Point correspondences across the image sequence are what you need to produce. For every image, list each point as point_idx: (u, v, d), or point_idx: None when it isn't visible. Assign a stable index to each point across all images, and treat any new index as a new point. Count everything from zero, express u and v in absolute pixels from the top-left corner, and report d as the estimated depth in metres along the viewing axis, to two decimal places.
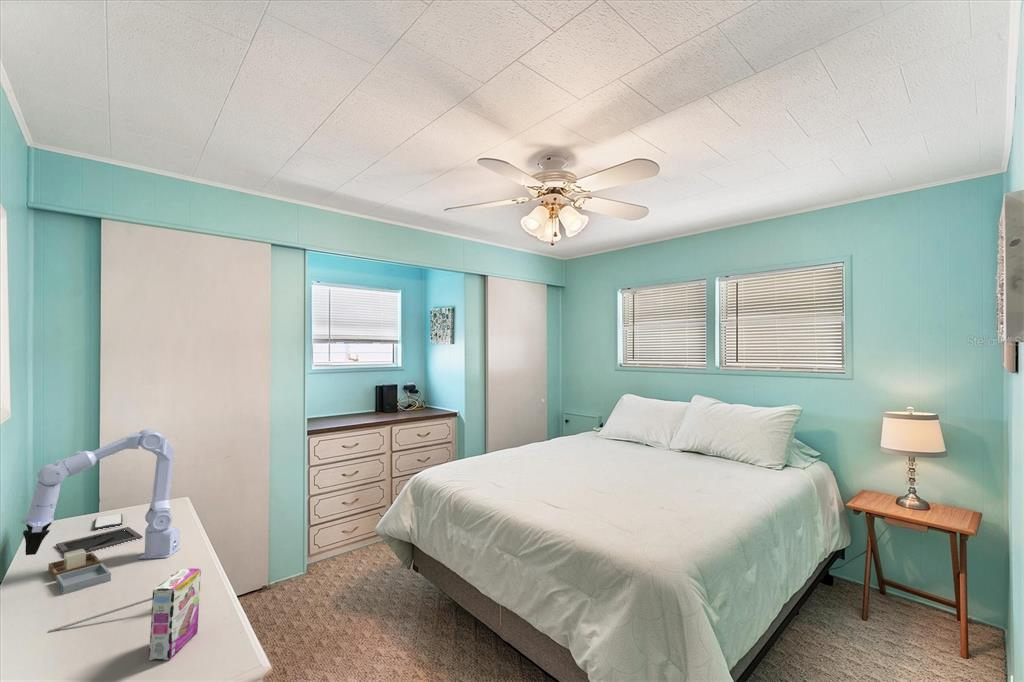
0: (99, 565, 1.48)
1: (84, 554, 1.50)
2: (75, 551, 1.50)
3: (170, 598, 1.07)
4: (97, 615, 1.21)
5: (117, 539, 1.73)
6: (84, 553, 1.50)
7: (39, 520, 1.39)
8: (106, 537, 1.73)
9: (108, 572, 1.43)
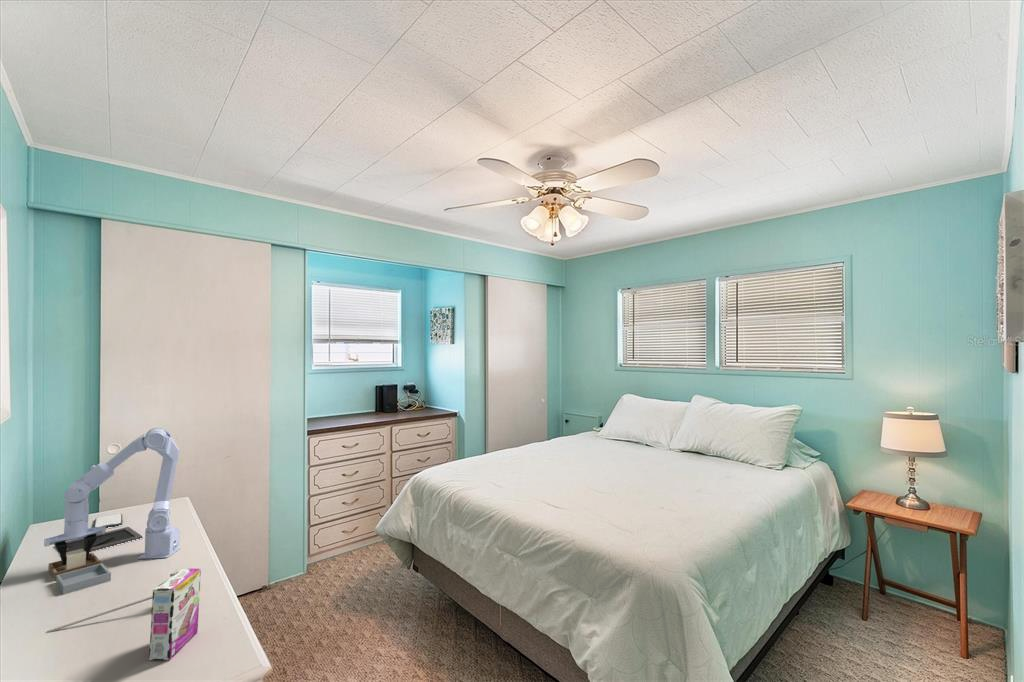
0: (99, 565, 1.48)
1: (84, 554, 1.50)
2: (75, 551, 1.50)
3: (170, 598, 1.07)
4: (96, 615, 1.21)
5: (117, 539, 1.73)
6: (84, 553, 1.50)
7: (64, 534, 1.48)
8: (106, 537, 1.73)
9: (108, 572, 1.43)
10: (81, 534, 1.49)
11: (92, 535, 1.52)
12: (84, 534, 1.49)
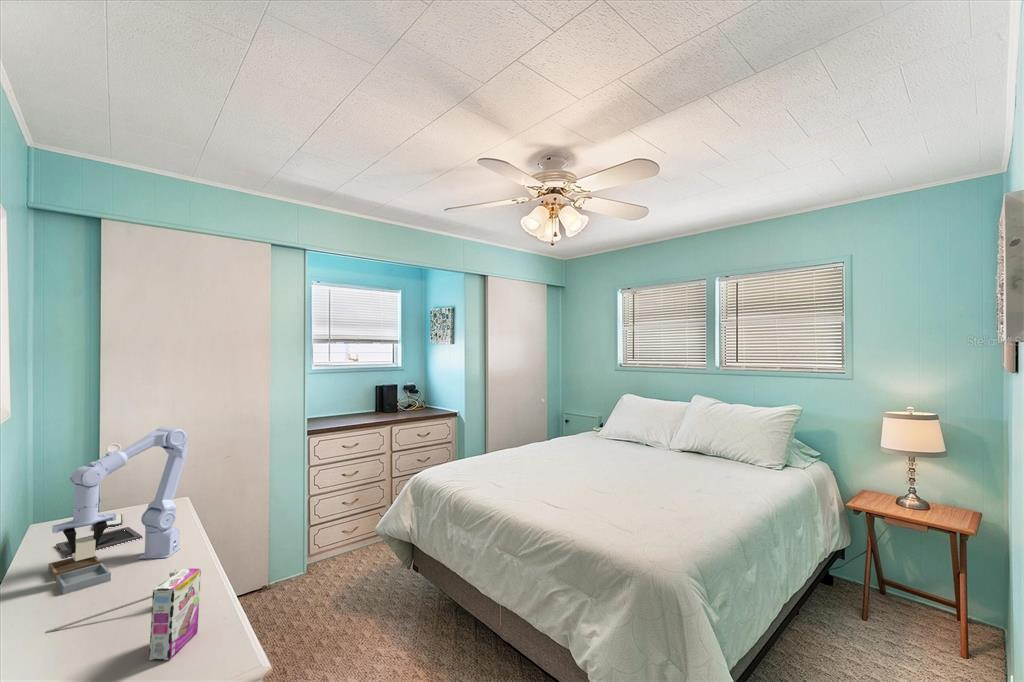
0: (99, 565, 1.48)
1: (94, 542, 1.43)
2: (84, 539, 1.44)
3: (170, 598, 1.07)
4: (95, 614, 1.21)
5: (117, 539, 1.73)
6: (94, 541, 1.43)
7: (73, 521, 1.41)
8: (106, 537, 1.73)
9: (108, 572, 1.43)
10: (91, 521, 1.42)
11: (102, 522, 1.45)
12: (94, 521, 1.42)
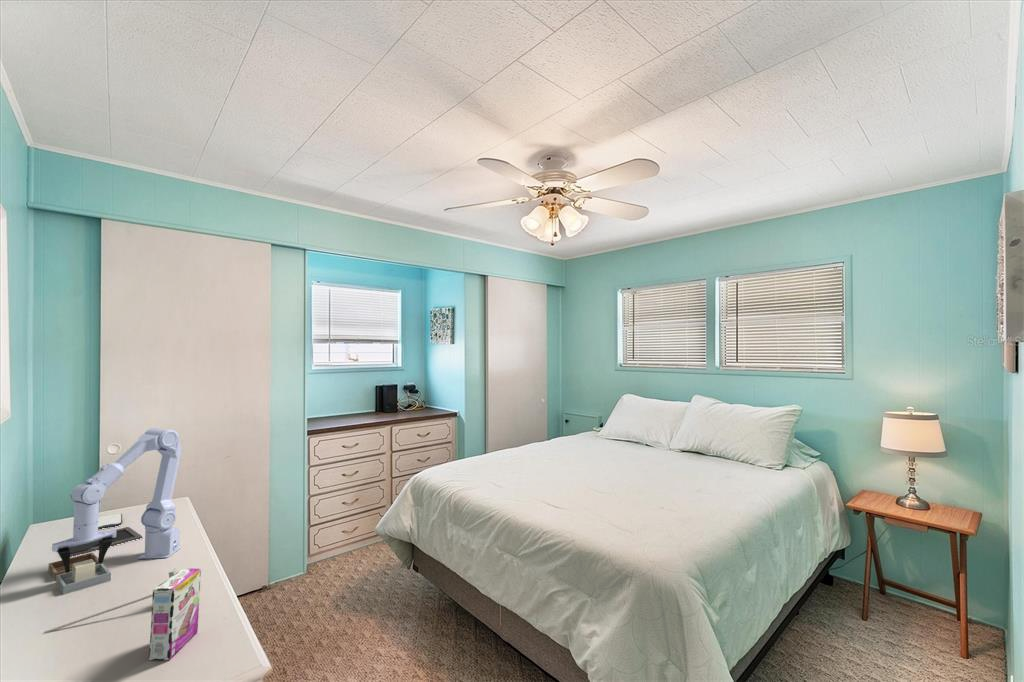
0: (99, 565, 1.48)
1: (93, 565, 1.42)
2: (84, 562, 1.43)
3: (170, 598, 1.07)
4: (94, 614, 1.21)
5: (117, 539, 1.73)
6: (93, 564, 1.42)
7: (73, 538, 1.40)
8: None
9: (108, 572, 1.43)
10: (91, 538, 1.41)
11: (102, 539, 1.45)
12: (94, 538, 1.42)
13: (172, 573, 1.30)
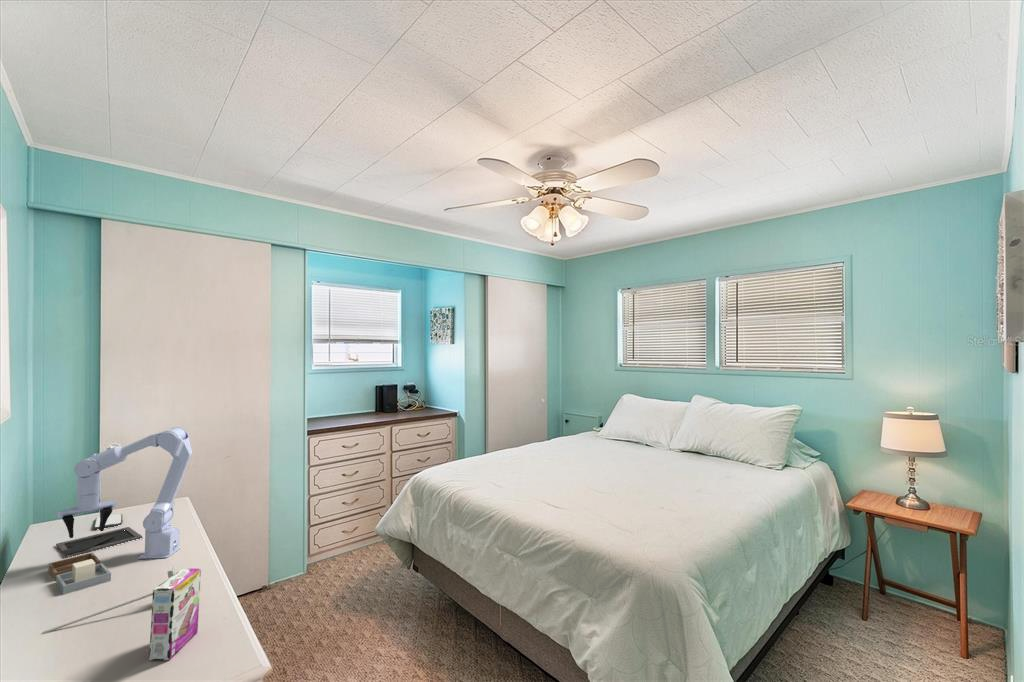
0: (99, 565, 1.48)
1: (93, 565, 1.42)
2: (84, 562, 1.43)
3: (170, 598, 1.07)
4: (93, 614, 1.21)
5: (117, 539, 1.73)
6: (93, 564, 1.42)
7: (76, 507, 1.54)
8: (106, 537, 1.73)
9: (108, 572, 1.43)
10: (93, 507, 1.55)
11: (103, 509, 1.58)
12: (95, 507, 1.55)
13: (171, 572, 1.31)
